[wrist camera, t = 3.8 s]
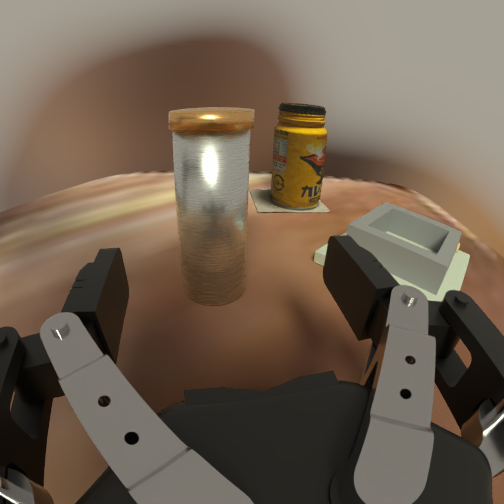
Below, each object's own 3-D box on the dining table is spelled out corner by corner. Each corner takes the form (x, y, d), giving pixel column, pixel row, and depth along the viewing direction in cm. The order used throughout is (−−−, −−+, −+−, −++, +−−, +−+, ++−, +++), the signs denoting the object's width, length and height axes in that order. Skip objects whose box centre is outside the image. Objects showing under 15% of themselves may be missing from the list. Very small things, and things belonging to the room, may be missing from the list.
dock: (313, 261, 25) (319, 223, 23) (371, 222, 32) (377, 193, 31) (444, 327, 18) (464, 287, 16) (467, 263, 25) (477, 233, 23)
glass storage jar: (168, 283, 22) (153, 112, 15) (218, 260, 25) (217, 106, 18) (209, 317, 19) (202, 114, 13) (262, 286, 22) (272, 110, 16)
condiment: (330, 213, 34) (342, 109, 28) (258, 213, 33) (263, 103, 27) (311, 191, 41) (319, 104, 34) (249, 191, 39) (252, 100, 33)
